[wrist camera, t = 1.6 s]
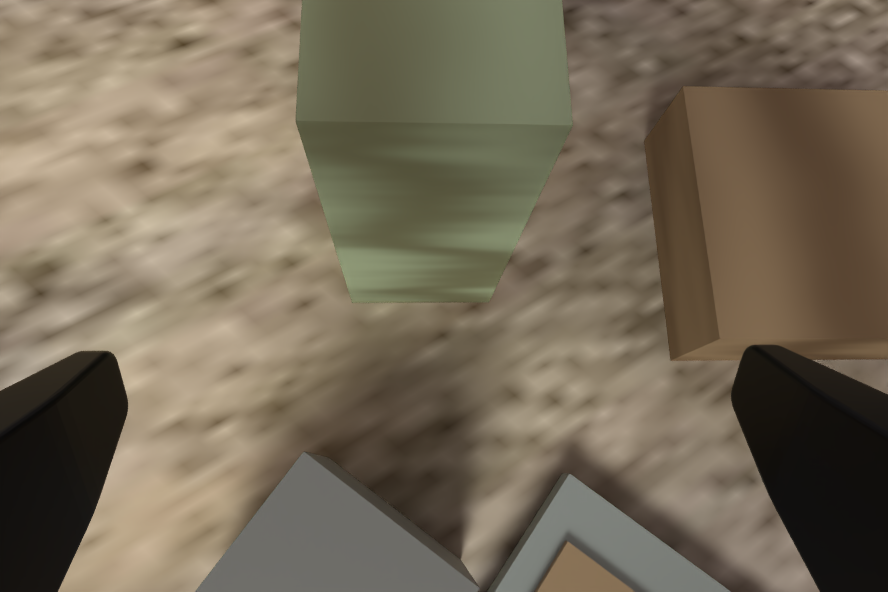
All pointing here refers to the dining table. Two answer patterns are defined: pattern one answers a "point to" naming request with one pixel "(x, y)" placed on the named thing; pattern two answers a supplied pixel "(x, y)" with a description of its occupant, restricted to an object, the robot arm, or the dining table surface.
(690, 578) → the board
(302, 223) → the dining table surface
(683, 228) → the walnut base block
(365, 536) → the charcoal cube
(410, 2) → the sage pillar
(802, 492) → the robot arm
